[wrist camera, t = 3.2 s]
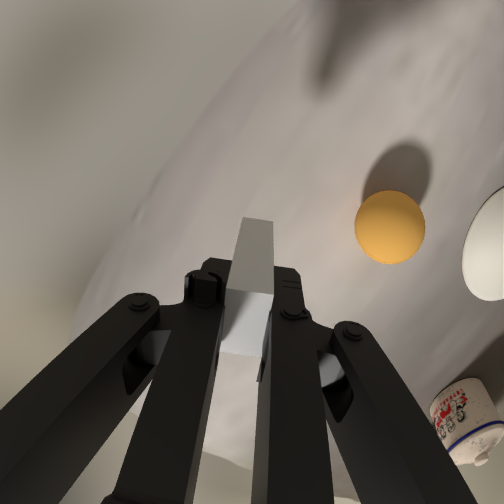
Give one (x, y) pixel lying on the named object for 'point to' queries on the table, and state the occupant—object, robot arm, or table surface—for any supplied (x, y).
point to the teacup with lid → (467, 421)
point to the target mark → (486, 250)
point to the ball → (390, 227)
